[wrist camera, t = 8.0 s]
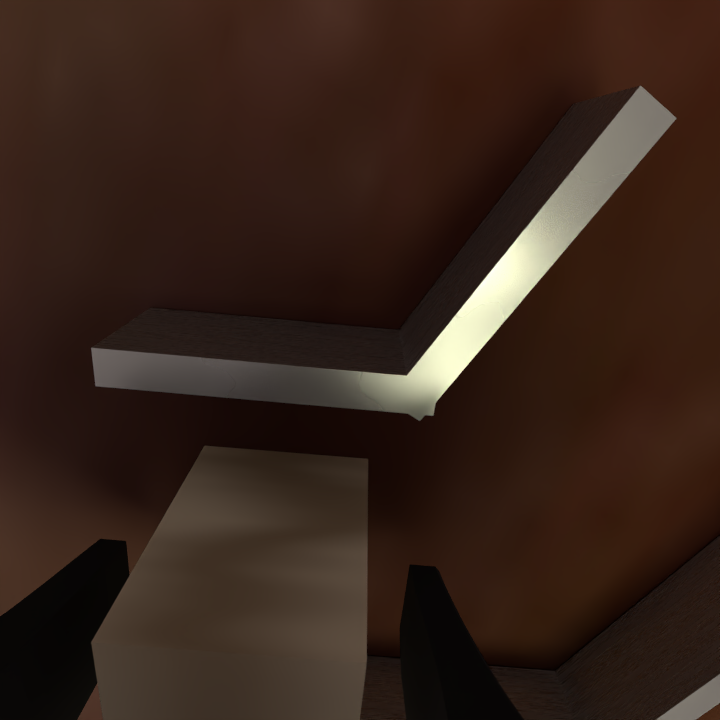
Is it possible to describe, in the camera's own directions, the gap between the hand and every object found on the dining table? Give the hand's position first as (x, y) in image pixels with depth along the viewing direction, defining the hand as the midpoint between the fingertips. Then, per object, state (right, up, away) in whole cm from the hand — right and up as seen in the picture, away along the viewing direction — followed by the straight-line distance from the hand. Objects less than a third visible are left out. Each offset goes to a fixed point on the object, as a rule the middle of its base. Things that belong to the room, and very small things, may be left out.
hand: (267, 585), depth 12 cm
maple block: (0, +1, +2) cm, 2 cm away
